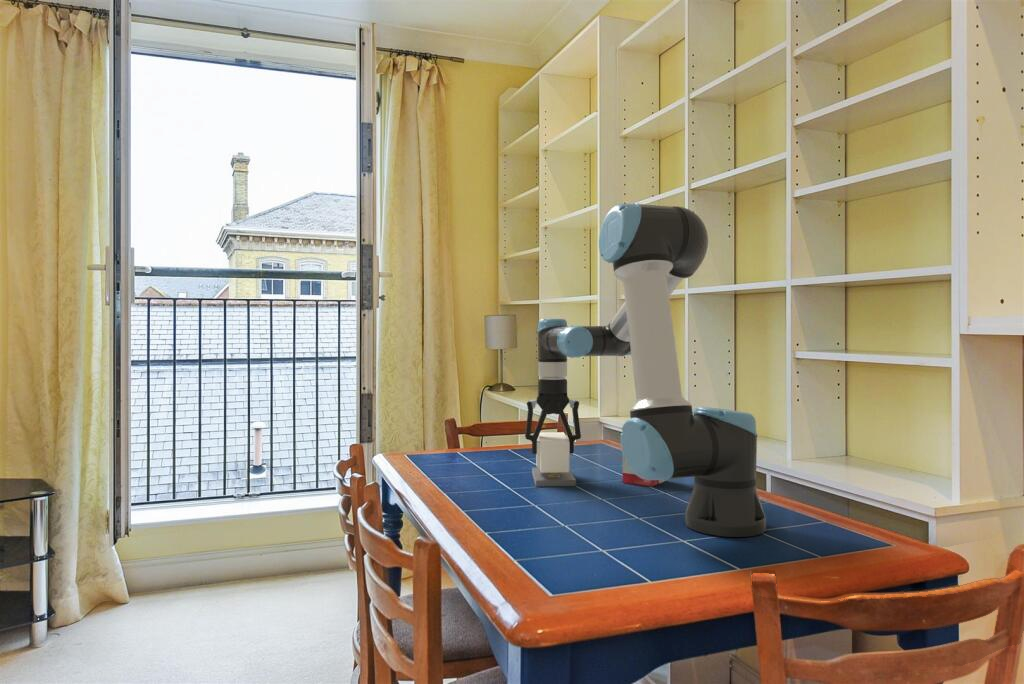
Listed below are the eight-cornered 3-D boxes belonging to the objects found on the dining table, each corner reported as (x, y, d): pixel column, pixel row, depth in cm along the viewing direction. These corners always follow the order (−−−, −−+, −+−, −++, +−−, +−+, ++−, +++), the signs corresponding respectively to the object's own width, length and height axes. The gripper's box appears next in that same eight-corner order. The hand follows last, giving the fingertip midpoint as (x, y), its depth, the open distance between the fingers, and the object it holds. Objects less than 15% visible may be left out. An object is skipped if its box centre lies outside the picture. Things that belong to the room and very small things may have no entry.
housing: (569, 472, 170) (569, 440, 170) (541, 472, 170) (541, 440, 170) (563, 461, 183) (563, 432, 183) (537, 461, 183) (537, 432, 183)
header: (576, 486, 169) (575, 461, 169) (535, 486, 169) (535, 462, 168) (568, 472, 185) (568, 450, 185) (532, 473, 185) (532, 451, 184)
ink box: (652, 487, 167) (652, 439, 167) (621, 482, 172) (621, 436, 172) (667, 481, 174) (667, 434, 174) (636, 476, 179) (636, 432, 179)
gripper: (588, 376, 180) (589, 463, 181) (513, 377, 180) (514, 463, 180) (593, 378, 173) (593, 468, 173) (514, 379, 172) (515, 469, 173)
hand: (552, 466), depth 177 cm, fingers closed on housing, 7 cm apart
